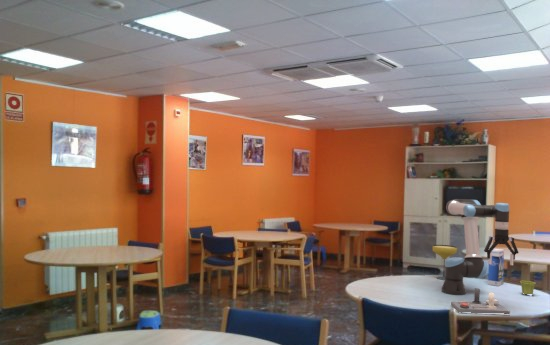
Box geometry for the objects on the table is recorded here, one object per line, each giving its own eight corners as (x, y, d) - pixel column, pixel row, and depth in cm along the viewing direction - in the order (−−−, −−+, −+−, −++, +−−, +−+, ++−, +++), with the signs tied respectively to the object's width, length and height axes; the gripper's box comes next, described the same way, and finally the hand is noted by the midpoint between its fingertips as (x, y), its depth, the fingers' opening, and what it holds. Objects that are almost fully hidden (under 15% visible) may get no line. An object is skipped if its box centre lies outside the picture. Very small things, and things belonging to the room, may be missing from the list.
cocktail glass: (460, 279, 367) (461, 247, 367) (449, 282, 354) (450, 249, 354) (438, 275, 380) (439, 244, 380) (427, 278, 367) (428, 245, 368)
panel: (459, 313, 273) (459, 304, 273) (451, 305, 289) (451, 297, 289) (509, 315, 271) (509, 307, 271) (498, 307, 287) (498, 300, 287)
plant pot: (530, 293, 327) (530, 280, 327) (538, 296, 318) (538, 284, 318) (517, 293, 327) (517, 280, 327) (524, 296, 317) (525, 283, 317)
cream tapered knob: (488, 308, 274) (489, 293, 274) (486, 307, 277) (487, 292, 277) (495, 309, 273) (496, 293, 273) (493, 307, 276) (494, 292, 276)
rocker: (488, 304, 282) (487, 301, 282) (485, 302, 286) (485, 299, 286) (498, 302, 281) (498, 299, 281) (496, 301, 285) (495, 297, 285)
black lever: (474, 304, 283) (474, 289, 283) (472, 302, 286) (472, 288, 286) (481, 304, 283) (481, 289, 283) (479, 303, 286) (479, 288, 286)
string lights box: (498, 286, 346) (499, 251, 346) (487, 284, 351) (488, 249, 351) (503, 283, 356) (504, 249, 356) (492, 282, 361) (493, 248, 361)
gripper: (483, 228, 283) (482, 264, 282) (525, 230, 281) (524, 266, 281) (478, 227, 290) (477, 262, 290) (519, 228, 288) (518, 264, 288)
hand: (500, 264), depth 285 cm, fingers open, 12 cm apart
